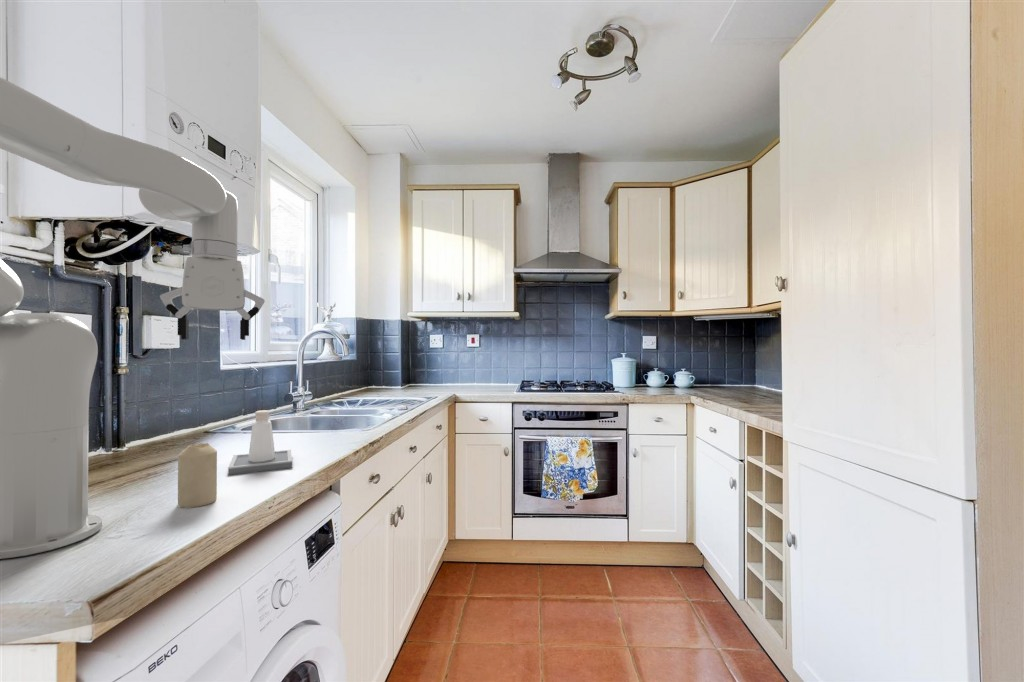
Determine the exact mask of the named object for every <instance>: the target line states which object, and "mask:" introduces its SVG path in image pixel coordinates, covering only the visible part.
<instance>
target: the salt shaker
mask: <svg viewBox="0 0 1024 682" xmlns="http://www.w3.org/2000/svg"><path fill="white" fill-rule="evenodd" d="M254 414H255V421H253V422H252V427H251V435H250V442H249V450H248V451H249V452H248V454H249V457H248V461H250V462H265V461H269V460H273V459H274V458H275V441H274V434H273V425H272V421H271V420H269V414H270V410H265V409H263V410H260V409H259V410H257V411H255V412H254Z"/></svg>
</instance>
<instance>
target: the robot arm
mask: <svg viewBox="0 0 1024 682" xmlns="http://www.w3.org/2000/svg"><path fill="white" fill-rule="evenodd" d="M0 149H1V150H4V151H6V152H9V153H10V154H13V155H16V156H19V157H21V158H23V159H26V160H28V161H31V162H33V163H35V164H38V165H40V166H42V167H45V168H47V169H50V170H52V171H54V172H57V173H59V174H61V175H64V176H66V177H68V178H71V179H74V180H77V181H80V182H84V183H90V184H94V185H95V184H96V185H100V186H101V185H102V186H103V185H104V186H111V187H112V186H113V187H123V188H125V187H126V188H134V189H139V190H138V198H139V200H140V202H141V204H142V206H143V207H144V209H146V210H147V211H148V212H149V213H151V214H152V215H154V216H156V217H159V218H162V219H166V220H171V221H179V222H180V221H181V222H187V223H190V224H191V241H190V243H189V244H183V245H182V252H184V253H188V254H190V255H191V256H186V260H185V264H184V268H183V277H182V286H181V287H178V288H175V289H172V290H170V291H167V292H165V293H161V294H160V295H159V298H160V300H161V301H162V303H163V305H164V306H165V308H166V310H168V311H169V312H170V313H171V314H172V315H173V316H175V318H177V335H178V336H181V340H189V337H190V336H189V335H190V334H189V333H190V331H189V330H190V327H189V326H190V324H189V323H190V320H189V319H188V316H189V314H191V313H192V312H193V311H194V310H196V311H197V310H198V311H220V312H221V311H224V312H226V311H227V312H228V311H229V312H230V311H231V312H232V311H233V312H234V311H235V312H237V313H238V314H239V315H240V316H241V320H240V321H239V333H240V336H239V337H240V340H242V341H245V340H246V336H247V337H249V336H250V321H251V319H252V318H254V317H255V316H256V315H257V314H259V312H260V310H261V309H262V307H263V306H264V304H265V302H266V301H265V299H264V298H262V297H261V296H259V295H258V294H255V293H252V292H250V291H248V290H247V289H245V277H244V269H243V264H242V261H241V260H238V223H239V222H238V217H239V216H238V212H239V210H238V209H239V207H238V206H239V205H238V200H237V197H236V196H235V195H234V194H233V193H231V192H229V191H227V190H225V188H224V187H223V184H221V182H220V181H219V180H218V179H217V178H216V177H215V176H214V175H212V173H210V172H209V171H207V170H206V169H204V168H203V167H201V166H199V165H197V164H196V163H194V162H192V161H191V160H188V159H186V158H184V157H183V156H181V155H178V154H177V153H174V152H172V151H169V150H167V149H164V148H162V147H158V146H155V145H152V144H149V143H145V142H142V141H138V140H135V139H133V138H129V137H126V136H124V135H120V134H117V133H113V132H109V131H106V130H103V129H101V128H98V127H96V126H94V125H92V124H91V123H89V122H87V121H86V120H85V121H84V120H83V119H81V118H80V117H77V116H75V115H74V114H71V113H69V112H68V111H65V110H64V109H62V108H60V107H59V106H56V105H54V104H52V103H51V102H49V101H47V100H45V99H43V98H42V97H39V96H37V94H36V95H35V94H34V93H32V92H30V91H28V90H26V89H24V88H22V87H21V86H19V85H16V84H14V83H13V82H11V81H8V80H7V79H5V78H4V77H1V76H0ZM24 290H25V289H24V285H23V283H22V281H21V279H20V277H19V276H18V275H17V273H16V272H15V271H14V270H13V269H12V268H11V267H10V266H9V265H8V264H6V262H4V260H2V258H0V560H2V559H11V558H12V559H13V558H18V557H26V556H31V555H35V554H40V553H44V552H47V551H48V552H49V551H53V550H55V549H59V548H63V547H65V546H69V545H71V544H72V545H73V544H75V543H76V542H80V541H82V540H85V539H87V538H89V537H90V536H92V535H95V534H96V533H98V531H100V530H101V528H102V527H103V519H102V518H101V516H98V515H95V514H89V433H90V431H89V429H90V428H89V427H90V426H89V424H90V423H89V417H90V415H89V412H90V409H89V408H90V406H89V405H90V396H91V395H90V393H91V385H92V381H93V376H94V372H95V370H96V365H97V361H98V352H99V349H98V347H99V346H98V342H97V339H96V337H95V334H94V333H93V332H92V330H91V329H90V328H89V327H88V326H87V325H86V324H84V323H83V322H82V321H79V320H78V319H76V318H75V317H74V318H73V317H72V316H68V315H65V314H64V315H63V314H59V313H50V312H28V313H27V312H26V313H25V312H24V313H22V312H21V313H20V312H19V313H13V311H14V310H16V309H17V308H18V307H19V306H20V304H21V303H22V301H23V298H24V295H25V291H24ZM180 296H181V304H182V305H183V306H181V308H180V309H179V308H178V307H177V306H176V305H175V304H174V303H173V299H175V298H177V297H180ZM246 299H248V300H251V301H253V302H254V306H253V307H252V308H251V309H250V310H248V312H247V311H246V310H245V304H246V303H245V302H246V301H245V300H246Z"/></svg>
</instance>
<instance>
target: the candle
mask: <svg viewBox="0 0 1024 682" xmlns="http://www.w3.org/2000/svg"><path fill="white" fill-rule="evenodd" d="M217 476H218V451H217V449H216V448H214V447H213V446H212V445H210V443H208V442H207V443H206V442H205V443H198V444H189V445H188V446H187V447H186V448H184V449H183V450H182V451H181V452H179V454H178V456H177V506H178V507H179V508H182V507H190V509H191V507H192V508H197V507H203V506H206V505H210V504H212V503H215V502H216V500H217V496H218V495H217V494H218V489H217V485H218V480H217V478H218V477H217Z"/></svg>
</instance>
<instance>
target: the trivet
mask: <svg viewBox="0 0 1024 682" xmlns="http://www.w3.org/2000/svg"><path fill="white" fill-rule="evenodd" d="M248 457H249V453H243V454H241V453H240V454H234V455H233V456H232V457H231V460H230V463H229V465H228V467H227V468H228V469H227V474H228V475H229V476H230V475H238V474H239V475H240V474H247V473H255V472H256V473H257V472H265V471H273V470H284V469H292V468H293V457H292V450H291V449H286V450H285V449H284V450H276V451H275V458H274V459H273V460H269V461H265V462H250V461H248Z"/></svg>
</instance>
